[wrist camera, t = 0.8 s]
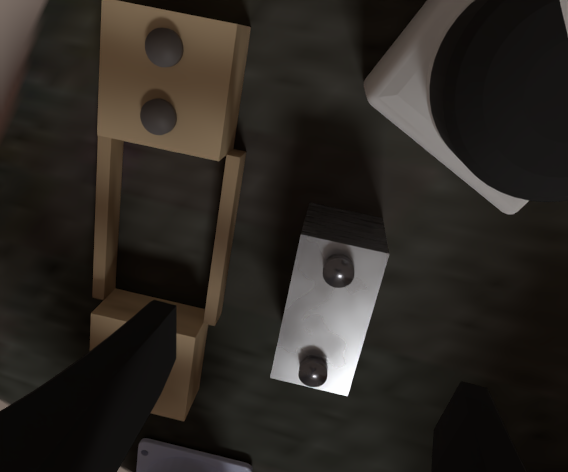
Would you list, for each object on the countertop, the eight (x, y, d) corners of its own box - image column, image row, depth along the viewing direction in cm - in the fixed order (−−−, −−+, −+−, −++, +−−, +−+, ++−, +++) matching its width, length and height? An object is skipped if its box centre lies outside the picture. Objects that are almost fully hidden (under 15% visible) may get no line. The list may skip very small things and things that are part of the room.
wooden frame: (209, 391, 32) (193, 429, 28) (100, 365, 32) (73, 399, 29) (265, 29, 23) (251, 26, 20) (117, 0, 24) (81, -7, 21)
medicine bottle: (469, 174, 24) (566, 279, 13) (359, 84, 24) (366, 117, 13) (585, 53, 22) (824, 60, 11) (467, -52, 21) (594, -163, 10)
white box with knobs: (348, 340, 29) (347, 404, 24) (283, 325, 29) (268, 385, 24) (382, 217, 26) (390, 259, 21) (309, 201, 26) (299, 239, 21)
